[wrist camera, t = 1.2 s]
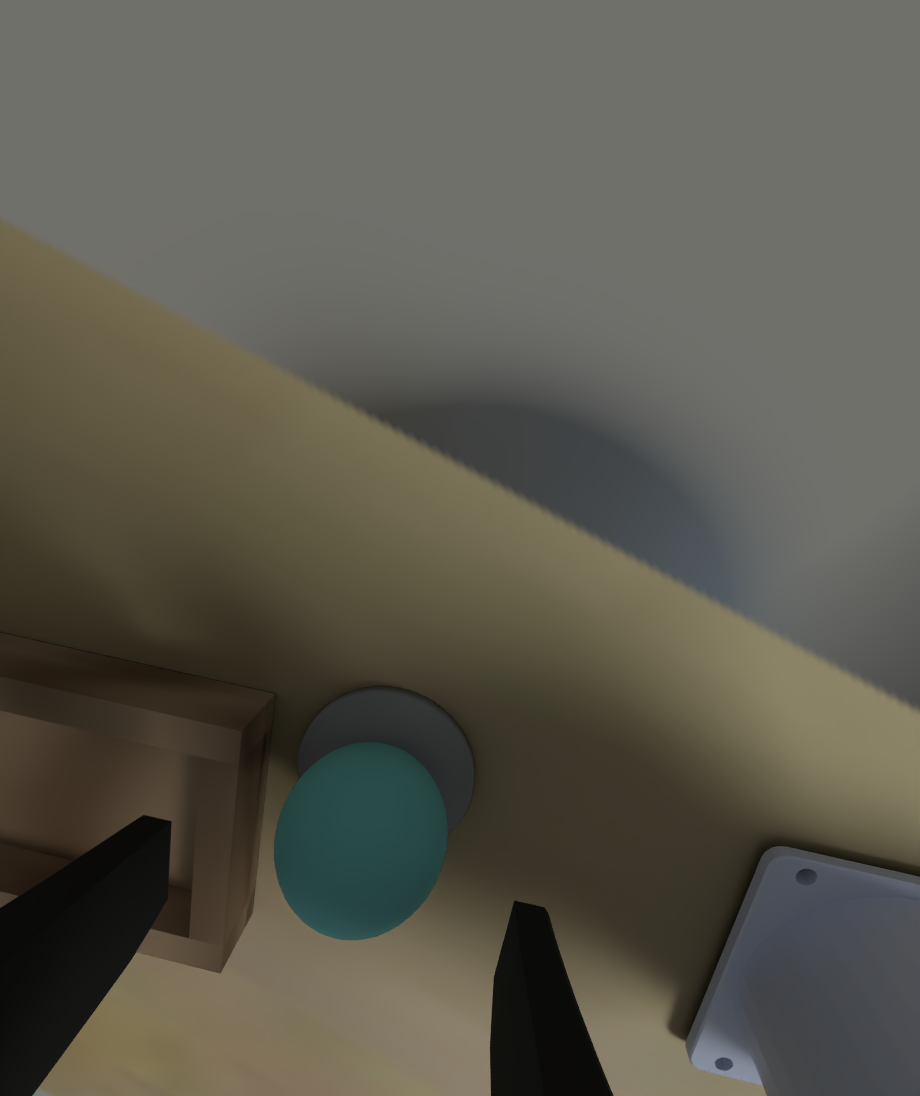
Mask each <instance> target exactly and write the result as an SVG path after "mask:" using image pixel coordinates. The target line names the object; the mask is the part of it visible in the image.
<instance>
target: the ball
mask: <svg viewBox="0 0 920 1096" xmlns="http://www.w3.org/2000/svg"><path fill="white" fill-rule="evenodd" d="M447 834H448V832H447V816H446V810H445V806H444V802H443V799H442V796H441V793H440V791H439V788H438V786H437V784H436V783H435V781H434V779H433V777H432V776H431V774H430V773H429V772H428V770H427V769H426V768H425V767H424V766H423V765H422V764H421V763H420V762H419V761H418V760H417V759H416V758H415V757H413V756H412V755H410V754H409V753H407V752H406V751H404V750H402V749H400V748H397V747H395V746H392V745H388V744H384V743H378V742H363V743H355V744H350V745H347V746H344V747H341V748H339V749H336V750H334V751H332V752H330V753H328V754H327V755H325V756H324V757H322V758H321V759H320V760H318V761H317V762H315V763H314V764H313V765H312V766H311V767H310V768H309V769H308V770H307V771H306V772H305V773H304V774H303V775H302V776H301V778H300V779H299V780H298V781H297V783H296V784H295V786H294V787H293V788H292V790H291V792H290V794H289V795H288V797H287V799H286V801H285V803H284V806H283V808H282V811H281V814H280V817H279V820H278V824H277V829H276V835H275V842H274V860H275V868H276V873H277V878H278V881H279V885H280V887H281V890H282V892H283V894H284V897H285V899H286V900H287V902H288V904H289V906H290V907H291V908H292V909H293V911H294V912H295V913H296V914H297V916H298V917H299V918H300V919H301V920H302V921H303V922H304V923H306V924H307V925H308V926H309V927H311V928H312V929H314V930H316V931H318V932H319V933H321V934H324V935H326V936H329V937H332V938H336V939H342V940H361V939H367V938H372V937H376V936H379V935H381V934H384V933H386V932H388V931H390V930H392V929H393V928H395V927H397V926H399V925H400V924H401V923H402V922H404V921H405V920H406V919H408V918H409V917H410V916H411V915H412V914H413V913H414V912H415V911H416V910H417V909H418V908H419V907H420V905H421V904H422V903H423V902H424V901H425V899H426V898H427V896H428V895H429V893H430V891H431V890H432V888H433V886H434V884H435V882H436V880H437V878H438V876H439V873H440V871H441V868H442V864H443V861H444V857H445V852H446V846H447Z"/></svg>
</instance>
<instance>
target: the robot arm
mask: <svg viewBox="0 0 920 1096" xmlns="http://www.w3.org/2000/svg"><path fill="white" fill-rule="evenodd" d="M171 825H172V821H169V820H164V819H160V818H156V817H151V816H147V815H143V816H141V817H139V818H138V819H136V820H135V821H133V822H132V823H130V824H129V825H127V826H125V827H124V828H122V829H121V830H119V831H118V832H116V833H115V834H113V835H112V836H110V837H109V838H107V839H106V840H104V841H103V842H101V843H100V844H98V845H97V846H95V847H94V848H92V849H91V850H89V851H88V852H86V853H85V854H83V855H82V856H80V857H79V858H77V859H75V860H74V861H72V862H71V863H69V864H68V865H66V866H65V867H63V868H62V869H60V870H59V871H57V872H56V873H54V874H53V875H51V876H49V877H48V878H46V879H45V880H43V881H42V882H40V883H38V884H37V885H35V886H34V887H32V888H31V889H29V890H28V891H26V892H24V893H23V894H21V895H20V896H18V897H17V898H15V899H13V900H12V901H10V902H9V903H7V904H6V905H4V906H2V907H1V908H0V1096H32V1095H33V1094H34V1093H35V1091H36V1090H37V1089H38V1087H39V1086H40V1084H41V1083H42V1082H43V1080H44V1079H45V1078H46V1076H47V1075H48V1074H49V1072H50V1071H51V1069H52V1068H53V1067H54V1065H55V1064H56V1063H57V1061H58V1060H59V1059H60V1057H61V1056H62V1054H63V1053H64V1052H65V1050H66V1049H67V1048H68V1046H69V1045H70V1044H71V1042H72V1041H73V1039H74V1038H75V1037H76V1035H77V1034H78V1033H79V1031H80V1030H81V1029H82V1027H83V1026H84V1024H85V1023H86V1022H87V1020H88V1019H89V1018H90V1016H91V1015H92V1014H93V1012H94V1011H95V1009H96V1008H97V1007H98V1005H99V1004H100V1003H101V1001H102V1000H103V998H104V997H105V996H106V994H107V993H108V991H109V990H110V989H111V987H112V986H113V985H114V983H115V982H116V980H117V979H118V978H119V976H120V975H121V974H122V972H123V971H124V969H125V968H126V966H127V965H128V964H129V962H130V961H131V959H132V958H133V956H134V955H135V953H136V951H137V950H138V948H139V947H140V945H141V943H142V942H143V940H144V938H145V937H146V935H147V934H148V932H149V930H150V929H151V927H152V925H153V923H154V922H155V920H156V918H157V917H158V915H159V913H160V912H161V910H162V908H163V906H164V905H165V903H166V901H167V900H168V886H169V865H170V845H171ZM803 869H805V870H804V871H801V870H803ZM799 871H801V872H799ZM685 1047H686V1050H687V1053H688V1057H689V1060H690V1062H691V1064H693V1065H694V1066H695V1067H696V1068H698V1069H700V1070H703V1071H707V1072H711V1073H715V1074H719V1075H723V1076H727V1077H731V1078H735V1079H739V1080H743V1081H747V1082H751V1083H755V1084H759V1085H763V1086H764V1089H765V1092H766V1094H767V1096H920V877H919V876H914V875H910V874H906V873H901V872H897V871H892V870H888V869H883V868H879V867H875V866H870V865H866V864H861V863H857V862H852V861H848V860H844V859H839V858H835V857H830V856H826V855H821V854H817V853H813V852H808V851H804V850H799V849H795V848H790V847H785V846H776V847H772V848H770V849H768V850H767V851H765V853H764V854H763V856H762V857H761V859H760V862H759V864H758V867H757V869H756V871H755V874H754V876H753V879H752V881H751V884H750V886H749V889H748V891H747V893H746V896H745V898H744V901H743V903H742V906H741V908H740V911H739V913H738V915H737V918H736V920H735V923H734V925H733V928H732V930H731V933H730V935H729V937H728V940H727V942H726V945H725V947H724V950H723V952H722V955H721V957H720V959H719V962H718V964H717V967H716V969H715V972H714V974H713V977H712V979H711V981H710V984H709V986H708V989H707V991H706V994H705V996H704V999H703V1001H702V1003H701V1006H700V1008H699V1011H698V1013H697V1016H696V1018H695V1021H694V1023H693V1025H692V1028H691V1030H690V1033H689V1035H688V1038H687V1040H686V1045H685ZM490 1069H491V1096H613V1093H612V1091H611V1089H610V1086H609V1084H608V1081H607V1079H606V1077H605V1074H604V1072H603V1069H602V1067H601V1064H600V1062H599V1059H598V1057H597V1054H596V1051H595V1049H594V1046H593V1044H592V1041H591V1038H590V1036H589V1033H588V1031H587V1028H586V1025H585V1023H584V1020H583V1017H582V1015H581V1012H580V1009H579V1007H578V1004H577V1001H576V998H575V996H574V993H573V990H572V987H571V984H570V981H569V978H568V975H567V972H566V969H565V966H564V963H563V960H562V957H561V954H560V951H559V948H558V945H557V941H556V938H555V935H554V931H553V928H552V925H551V921H550V917H549V914H548V912H547V911H546V909H545V908H544V907H540V906H536V905H531V904H527V903H523V902H518V901H514V904H513V908H512V911H511V915H510V919H509V923H508V926H507V930H506V934H505V937H504V941H503V945H502V949H501V952H500V956H499V960H498V964H497V967H496V971H495V975H494V985H493V1001H492V1019H491V1038H490Z"/></svg>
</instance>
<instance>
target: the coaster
mask: <svg viewBox="0 0 920 1096" xmlns="http://www.w3.org/2000/svg"><path fill="white" fill-rule="evenodd" d="M363 742H378V743H384V744H388V745H392V746H395V747H397V748H400V749H402V750H404V751H406V752H407V753H409V754H410V755H412V756H413V757H415V758H416V759H417V760H418V761H419V762H420V763H421V764H422V765H423V766H424V767H425V768H426V769H427V770H428V772H429V773H430V774H431V776H432V777H433V779H434V781H435V783H436V784H437V786H438V788H439V791H440V793H441V796H442V799H443V802H444V806H445V810H446V816H447V832H448V833H449V832H450V831H451V830H452V829H453V828H454V827H455V826H456V825H457V824H458V823H459V822H460V820H461V819H462V817H463V816H464V815H465V813H466V811H467V809H468V806H469V804H470V801H471V798H472V793H473V786H474V776H475V766H474V759H473V754H472V751H471V747H470V744H469V742H468V740H467V738H466V736H465V734H464V732H463V731H462V729H461V728H460V726H459V725H458V724H457V723H456V721H455V720H454V719H453V718H452V717H451V716H450V715H449V714H448V713H447V712H446V711H445V710H444V709H442V708H441V707H440V706H438V705H437V704H436V703H434V702H433V701H431V700H429V699H427V698H425V697H424V696H421V695H419V694H416V693H414V692H411V691H407V690H404V689H400V688H393V687H366V688H362V689H357V690H354V691H351V692H348V693H345V694H343V695H341V696H340V697H338V698H336V699H334V700H333V701H332V702H330V703H329V704H327V705H326V706H325V707H324V708H323V709H322V710H321V711H320V712H319V713H318V715H317V716H316V717H315V719H314V720H313V722H312V723H311V724H310V726H309V727H308V729H307V731H306V733H305V735H304V736H303V739H302V742H301V745H300V749H299V754H298V775H299V779H300V778H301V776H302V775H303V774H304V773H305V772H306V771H307V770H308V769H309V768H310V767H311V766H312V765H313V764H314V763H315V762H317V761H318V760H320V759H321V758H322V757H324V756H325V755H327V754H328V753H330V752H332V751H334V750H336V749H339V748H341V747H344V746H347V745H350V744H355V743H363Z"/></svg>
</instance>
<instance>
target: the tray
mask: <svg viewBox="0 0 920 1096" xmlns="http://www.w3.org/2000/svg"><path fill="white" fill-rule="evenodd" d="M274 703H275V694H274V693H270V692H265V691H261V690H256V689H252V688H247V687H243V686H238V685H234V684H229V683H225V682H220V681H216V680H211V679H207V678H202V677H198V676H193V675H189V674H184V673H180V672H175V671H171V670H166V669H162V668H157V667H153V666H148V665H144V664H139V663H135V662H130V661H126V660H121V659H117V658H112V657H108V656H103V655H99V654H94V653H90V652H85V651H81V650H76V649H72V648H67V647H63V646H58V645H54V644H49V643H45V642H40V641H35V640H31V639H26V638H22V637H17V636H13V635H8V634H4V633H0V908H1V907H2V906H4V905H6V904H7V903H9V902H10V901H12V900H13V899H15V898H17V897H18V896H20V895H21V894H23V893H24V892H26V891H28V890H29V889H31V888H32V887H34V886H35V885H37V884H38V883H40V882H42V881H43V880H45V879H46V878H48V877H49V876H51V875H53V874H54V873H56V872H57V871H59V870H60V869H62V868H63V867H65V866H66V865H68V864H69V863H71V862H72V861H74V860H75V859H77V858H79V857H80V856H82V855H83V854H85V853H86V852H88V851H89V850H91V849H92V848H94V847H95V846H97V845H98V844H100V843H101V842H103V841H104V840H106V839H107V838H109V837H110V836H112V835H113V834H115V833H116V832H118V831H119V830H121V829H122V828H124V827H125V826H127V825H129V824H130V823H132V822H133V821H135V820H136V819H138V818H139V817H141V816H143V815H147V816H151V817H156V818H160V819H164V820H169V821H172V825H171V845H170V865H169V886H168V900H167V901H166V903H165V905H164V906H163V908H162V910H161V912H160V913H159V915H158V917H157V918H156V920H155V922H154V923H153V925H152V927H151V929H150V930H149V932H148V934H147V935H146V937H145V938H144V940H143V942H142V943H141V945H140V947H139V948H138V950H137V951H136V952H138V953H141V954H145V955H149V956H153V957H157V958H161V959H165V960H169V961H173V962H177V963H181V964H185V965H189V966H193V967H197V968H201V969H205V970H209V971H213V972H217V973H221V971H222V970H223V968H224V966H225V964H226V962H227V960H228V958H229V956H230V955H231V953H232V951H233V949H234V947H235V945H236V943H237V941H238V940H239V938H240V936H241V934H242V932H243V930H244V928H245V926H246V925H247V923H248V921H249V919H250V917H251V915H252V913H253V904H254V894H255V885H256V875H257V866H258V856H259V847H260V837H261V827H262V818H263V808H264V799H265V789H266V780H267V770H268V760H269V751H270V741H271V732H272V722H273V713H274Z"/></svg>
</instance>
